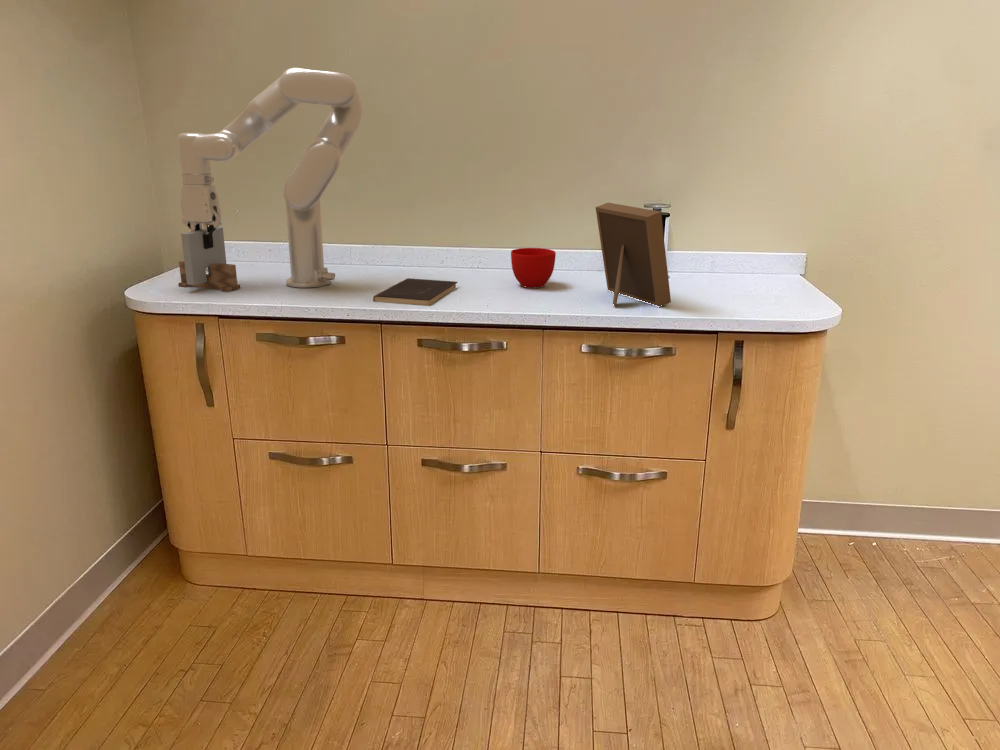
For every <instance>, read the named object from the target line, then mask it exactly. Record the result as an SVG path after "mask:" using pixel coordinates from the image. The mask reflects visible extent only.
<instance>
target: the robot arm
mask: <svg viewBox="0 0 1000 750" xmlns="http://www.w3.org/2000/svg"><path fill="white" fill-rule="evenodd" d="M302 104H310V105H311V104H312V105H321V106H330V110H329V111H330V112H329V114H328V116H327V117H326V119H325V121H324V123H323V125H322V126H321V128H320V130H319V131H318V133H317V134H316V136H315V137H314V138H313V140H312V141H311V142H310V143H309V144H308V146H307V147H306V148H305V151H304V152H303V154H302V156H301V157H300V159H299V161H298V162H297V164H296V166H295V167H294V169H293V170H292V172H291V173H290V175H289V176H288V177H287V178H286V180H285V181H284V185H283V187H282V188H283V190H282V191H283V192H282V194H283V198H284V201H285V202H284V203H285V212H286V227H287V241H288V251H289V255H288V256H289V265H290V266H289V267H290V275H291V276H290V277H289V278H287V279H286V280H285V284H286V285H287V286H288V287H291V288H292V287H293V288H304V289H305V288H307V289H308V288H319V287H323V286H328V285H330V283H331V281H334V280H335V279H336V273H335V272H329V271H328V267H325V262H324V261H325V259H324V258H325V257H324V246H323V245H324V244H323V243H324V242H323V232H322V229H323V228H322V227H323V226H322V215H321V197H322V195H323V194H324V193H325V191H326V189H327V187H328V186H329V184H330V183H331V181H332V180H333V178H334V177H335V175H336V174H337V172H338V170H339V168H340V165H341V162H342V161H341V159H342V157H343V155H344V153H345V152H346V150H347V149H348V147H349V145H350V143H351V142H352V140H353V138H354V136H355V134H357V130H358V129H359V126H360V124H361V120H362V111H363V110H362V101H361V98H360V96H359V94H358V88H357V85H356V82H355V81H354V79H353V78H352V77H351V76H350V75H348V74H346V73H343V72H337V71H326V70H317V69H309V68H302V67H295V66H294V67H290V68H287V69H285V70H284V71H283V72H282V73H281V75H280V76H279V77H278V78H277V79H276V80H275V81H273V82H272V83H271V84H269V85H268V86H267V87H266V88H264V90H262V91H261V92H260V93H259V94H257V95H256V96H255V97H254V98H253V99H252V100H251V101H249V103H248V104H247V106H246V107H245V108H244V110H243V111H242V112H241V113H240V114H239V115H238V116H237V117H236V118H234V119H233V120H232V121H231V122H230V123H229V124H227V125H226V126H225V127H224V128H222V129H221V130H220V131H218V132H215V133H207V134H206V133H202V132H181V133H179V134H178V136H177V147H178V148H177V149H178V156H179V164H180V173H181V180H182V181H181V182H182V184H181V186H180V208H181V215H182V216H181V217H182V220H181V222H182V224H183V225H185V226H187V228H188V229H189V231H190V230H191V232H192V231H198V230H201V223H203V228H204V234H203V242H204V248H205V249H209V248H213V247H214V246H213V236H212V233H214V231H215V229H216V228H217V227H221V226H222V225H223V224H222V222H221V220H222V211H221V204H220V198H219V194H218V191H217V189H216V185H214V184H213V183H214V180H215V177H213V176H212V171H211V161H212V162H213V161H214V162H223V163H225V162H226V163H227V162H230V161H232V160H233V159H234V158H236V157H237V156H238V155H240V154H241V153H242V152H243V151H244V150H245V149H246V148H248V147H249V146H250V145H251V144H252V143H254V142H255V141H256V140H257V139H258V138H260V137H262V136H263V135H264V134H265V133H268V132H269V131H270V130H272V129H273V128H275V126H277V125H278V124H279V123H280V122H282V121H283V120H284V119H285V118H286V117H287V116H289V115H290V114H291V113H292V112H294V111H295V110H296V109H297V108H299V106H301V105H302ZM212 182H213V183H212ZM195 224H196V225H195ZM208 225H209V227H208Z"/></svg>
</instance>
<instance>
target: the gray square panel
mask: <svg viewBox="0 0 1000 750" xmlns="http://www.w3.org/2000/svg"><path fill="white" fill-rule="evenodd" d="M203 234H204V229H203V230H198V231H192V232H190V231H189V232H188V231H187V232H182V233H181V234H180V236H181V246H182V253H183V260H184V263H185V271H186V280H187V285H197V284H201V283H204V282H207V277H206V274H210V275H211V267H210V264H212V263H222V264H227V257H226V254H227V253H226V246H225V237H224V235H225V234H224V227H221V226H219V227H217V228H216V229H215V231H214V233H212V236H213V246H214V247H213V248H209V249H205V248H204V242H203ZM206 267H208V271H206Z"/></svg>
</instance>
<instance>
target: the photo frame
mask: <svg viewBox="0 0 1000 750" xmlns="http://www.w3.org/2000/svg"><path fill="white" fill-rule="evenodd" d="M594 208H595V214H596V219H597V220H596V221H597V227H598V234H599V241H600V246H601V252H602V253H601V254H602V259H603V268H604V274H605V279H606V280H605V281H606V287H607V288H606V289H607V291H608V290H610V291H613V292H614V293H613V297H612V298H613V299H612V305H613V304H614V306H616V307H617V305H618V299H619V295H618V294H619V293H620V294H623V295H627V296H630V297H633V298H636V299H639V300H642V301H645V302H648V303H651V304H654V305H657V306H661V305H664V306H665V305H668V304H670V303H671V302H672V298H671V290H670V289H671V288H670V281H669V271H668V264H667V262H668V261H667V254H666V244H665V236H664V226H663V225H664V224H663V216H662V211H659V210H652V209H648V208H642V207H641V208H640V207H635V206H629V205H625V204H624V205H623V204H618V203H612V202H606V203H603V204H601V205H598V206H595V207H594ZM614 306H613V307H614ZM661 307H662V306H661Z"/></svg>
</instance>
